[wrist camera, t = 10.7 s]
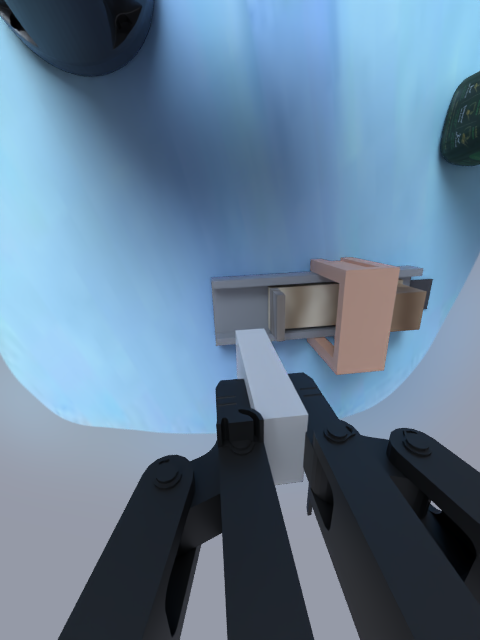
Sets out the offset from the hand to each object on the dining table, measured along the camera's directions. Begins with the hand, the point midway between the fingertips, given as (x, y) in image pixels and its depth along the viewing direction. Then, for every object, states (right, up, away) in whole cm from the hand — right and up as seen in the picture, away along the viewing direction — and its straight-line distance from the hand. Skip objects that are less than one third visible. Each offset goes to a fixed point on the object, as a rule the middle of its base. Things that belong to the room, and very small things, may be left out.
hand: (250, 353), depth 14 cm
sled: (+13, +4, +24) cm, 28 cm away
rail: (+10, +4, +25) cm, 28 cm away
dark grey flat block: (+26, +6, +27) cm, 38 cm away
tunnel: (+13, +5, +26) cm, 29 cm away
